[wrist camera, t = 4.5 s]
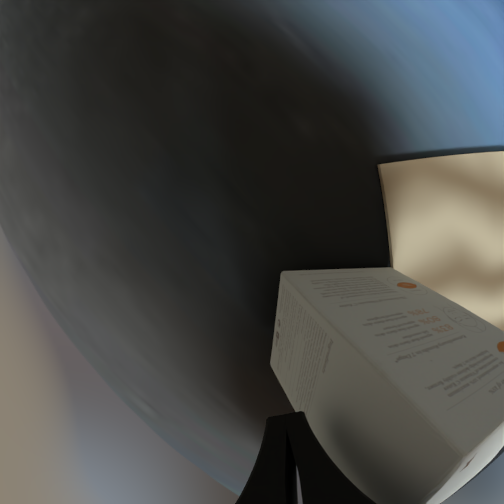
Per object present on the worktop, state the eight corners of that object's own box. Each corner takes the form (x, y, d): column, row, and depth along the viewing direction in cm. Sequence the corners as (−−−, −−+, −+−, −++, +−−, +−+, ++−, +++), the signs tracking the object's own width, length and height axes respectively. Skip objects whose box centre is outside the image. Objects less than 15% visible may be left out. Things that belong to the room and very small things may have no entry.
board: (501, 345, 20) (503, 347, 20) (390, 398, 21) (391, 401, 20) (509, 150, 16) (512, 150, 15) (377, 164, 16) (379, 164, 16)
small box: (267, 364, 17) (369, 547, 5) (278, 268, 16) (468, 457, 4) (371, 347, 19) (492, 462, 7) (392, 265, 18) (558, 360, 6)
